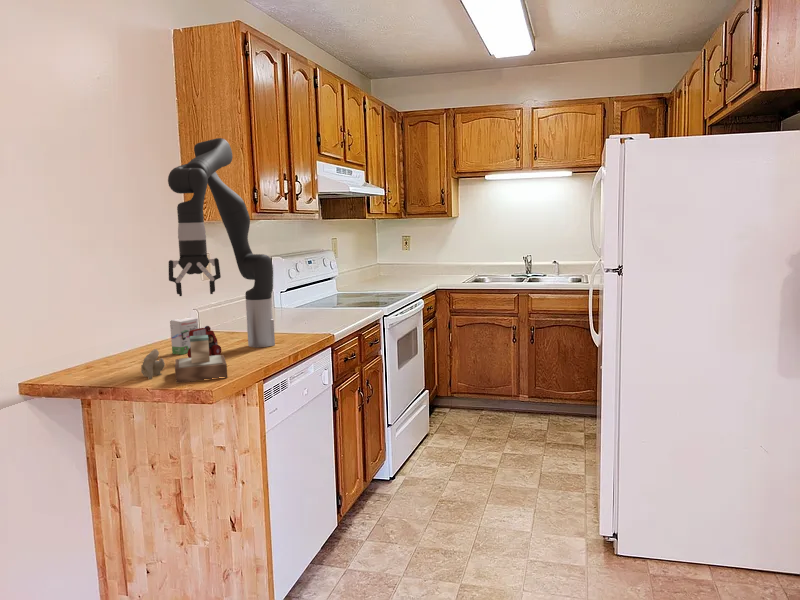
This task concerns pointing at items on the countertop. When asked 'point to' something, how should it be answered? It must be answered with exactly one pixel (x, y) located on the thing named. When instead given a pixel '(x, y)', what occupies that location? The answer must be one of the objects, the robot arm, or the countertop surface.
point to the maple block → (199, 349)
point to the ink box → (182, 334)
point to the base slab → (200, 369)
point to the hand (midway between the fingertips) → (196, 294)
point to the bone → (152, 365)
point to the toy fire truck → (213, 343)
